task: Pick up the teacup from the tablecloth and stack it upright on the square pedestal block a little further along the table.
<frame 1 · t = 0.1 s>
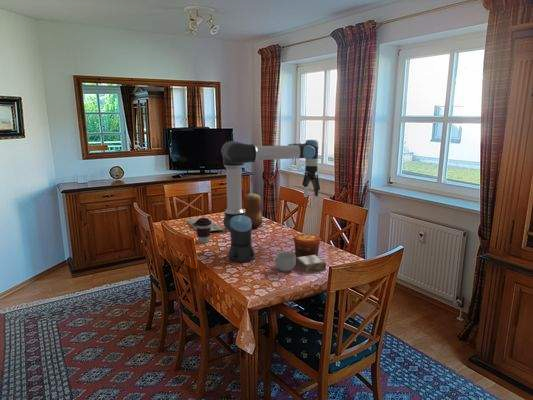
hand: (310, 198, 232), 28 cm above the table, fingers open, 13 cm apart
pedestal: (310, 267, 197), on the table
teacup: (285, 268, 195), on the table
butternut squash: (253, 227, 267), on the table
coffee cup: (204, 241, 237), on the table
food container: (306, 255, 214), on the table
newspaper: (206, 227, 270), on the table
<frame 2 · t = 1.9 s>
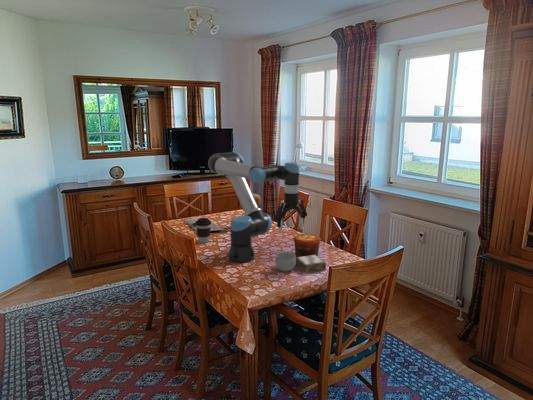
hand: (290, 230, 198), 18 cm above the table, fingers open, 13 cm apart
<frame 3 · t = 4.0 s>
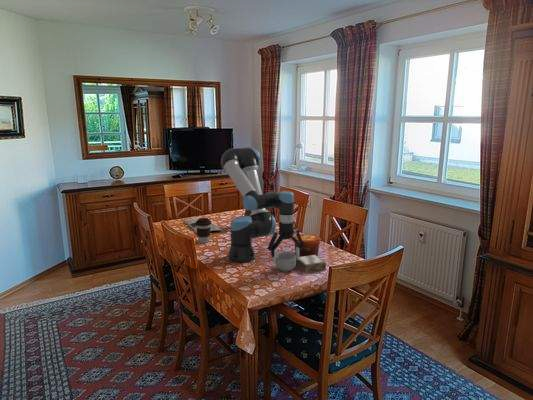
hand: (286, 260, 194), 4 cm above the table, fingers open, 12 cm apart
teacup: (285, 268, 195), on the table, touching gripper
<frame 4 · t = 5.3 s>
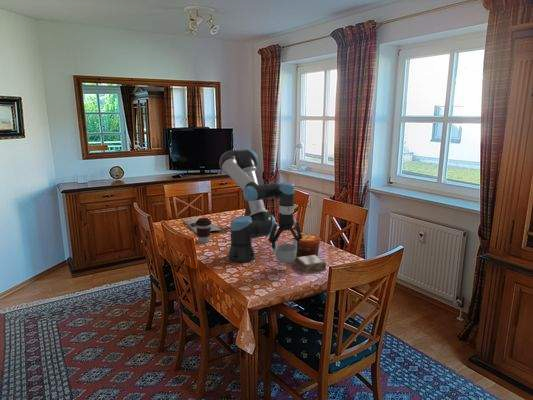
hand: (285, 253, 194), 8 cm above the table, fingers closed on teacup, 11 cm apart
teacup: (286, 260, 195), point 4 cm above the table, touching gripper
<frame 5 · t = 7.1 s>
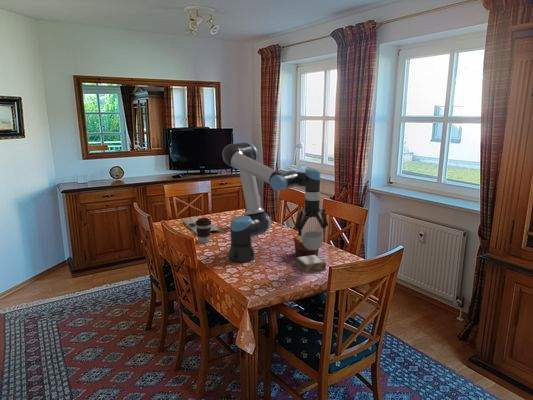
hand: (311, 240, 193), 15 cm above the table, fingers closed on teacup, 11 cm apart
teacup: (312, 247, 195), point 11 cm above the table, touching gripper
when the fingers open (8 cm above the table, at t = 8.7 s): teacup stays where it is, resting on pedestal.
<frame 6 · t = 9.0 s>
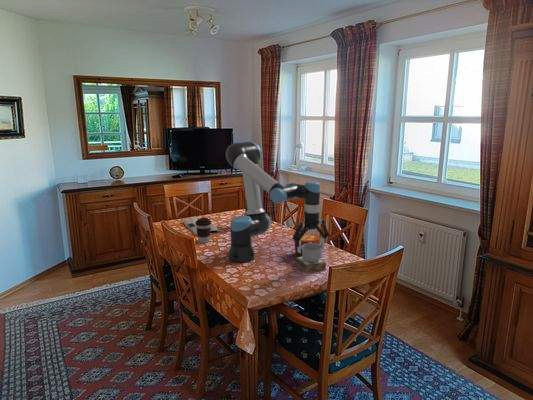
hand: (310, 250, 195), 9 cm above the table, fingers open, 13 cm apart
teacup: (311, 259, 196), point 4 cm above the table, touching pedestal
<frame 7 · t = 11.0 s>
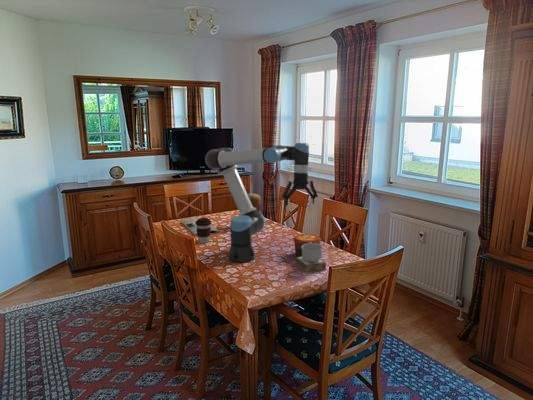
hand: (299, 210, 203), 28 cm above the table, fingers open, 13 cm apart
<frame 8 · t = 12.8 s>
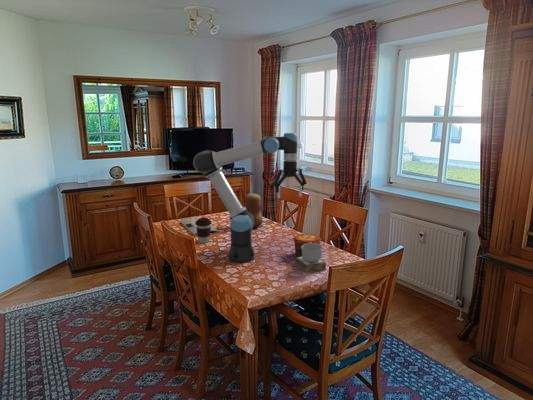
hand: (289, 197, 214), 33 cm above the table, fingers open, 13 cm apart
at the end: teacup inside the target area on the pedestal (0.7 cm from its centre), point 4.1 cm above the pedestal's base; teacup tilted 0°; the gripper is holding nothing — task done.
